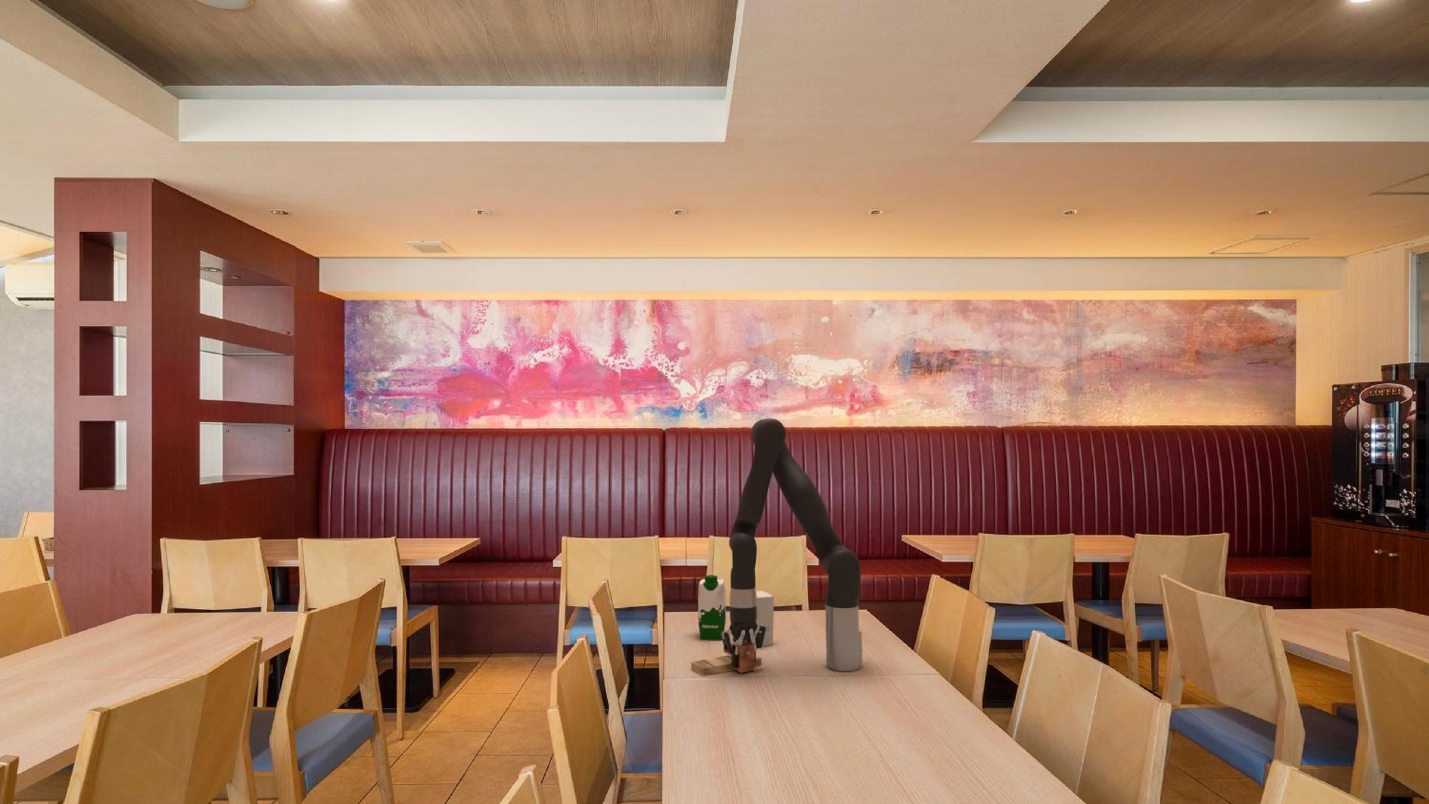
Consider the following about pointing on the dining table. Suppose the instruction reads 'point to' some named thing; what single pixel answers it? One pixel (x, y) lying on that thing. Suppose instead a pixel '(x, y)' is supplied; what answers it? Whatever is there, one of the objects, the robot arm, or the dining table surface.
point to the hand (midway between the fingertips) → (743, 665)
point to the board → (716, 665)
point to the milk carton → (711, 608)
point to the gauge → (745, 657)
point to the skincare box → (765, 615)
